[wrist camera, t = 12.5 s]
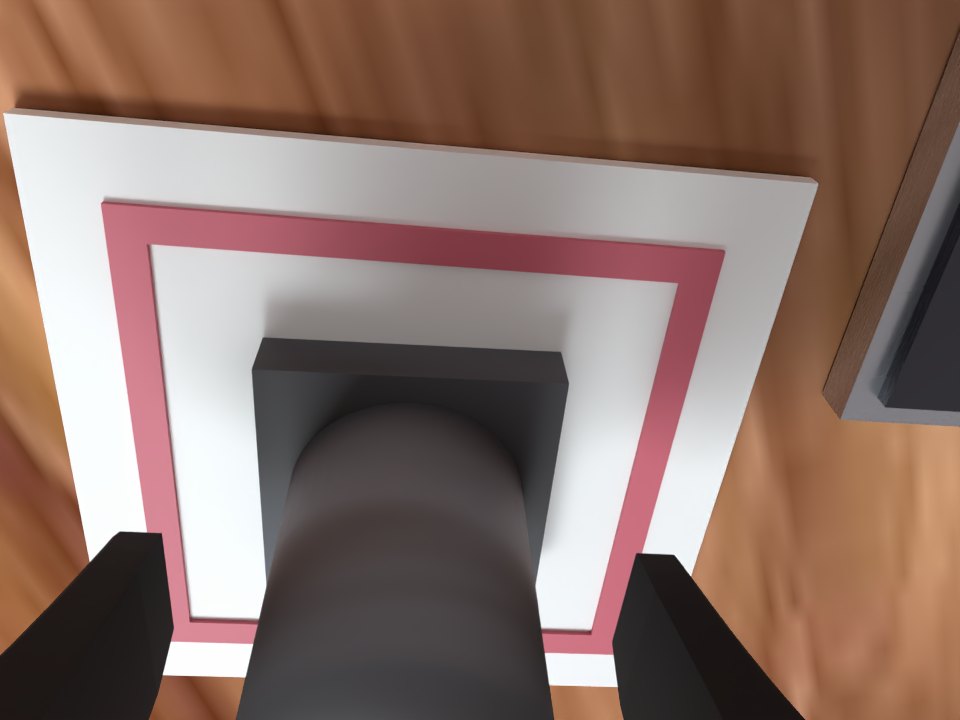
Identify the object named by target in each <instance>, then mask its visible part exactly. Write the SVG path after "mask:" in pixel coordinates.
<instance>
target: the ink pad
mask: <svg viewBox="0 0 960 720" xmlns="http://www.w3.org/2000/svg"><path fill="white" fill-rule="evenodd" d="M822 395H823V396H824V398H825V399H826V400H827V402H828V403H829V405H830V406H831V407H832V409H833V410H834V412H835V413H836V414H837V416H838V417H839V419H840V420H856V421H873V422H890V423H907V424H924V425H941V426H958V427H960V32H959V35H958V38H957V40H956V43H955V45H954V48H953V51H952V53H951V56H950V59H949V61H948V64H947V67H946V69H945V72H944V74H943V77H942V80H941V82H940V85H939V88H938V90H937V93H936V95H935V98H934V101H933V103H932V106H931V109H930V111H929V114H928V117H927V119H926V122H925V124H924V127H923V130H922V132H921V135H920V138H919V140H918V143H917V146H916V148H915V151H914V153H913V156H912V159H911V161H910V164H909V167H908V169H907V172H906V174H905V177H904V180H903V182H902V185H901V188H900V190H899V193H898V196H897V198H896V201H895V203H894V206H893V209H892V211H891V214H890V217H889V219H888V222H887V224H886V227H885V230H884V232H883V235H882V238H881V240H880V243H879V246H878V248H877V251H876V253H875V256H874V259H873V261H872V264H871V267H870V269H869V272H868V274H867V277H866V280H865V282H864V285H863V288H862V290H861V293H860V296H859V298H858V301H857V303H856V306H855V309H854V311H853V314H852V317H851V319H850V322H849V325H848V327H847V330H846V332H845V335H844V338H843V340H842V343H841V346H840V348H839V351H838V353H837V356H836V359H835V361H834V364H833V367H832V369H831V372H830V375H829V377H828V380H827V382H826V385H825V388H824V390H823V393H822Z"/></svg>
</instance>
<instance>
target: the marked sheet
mask: <svg viewBox="0 0 960 720" xmlns="http://www.w3.org/2000/svg"><path fill="white" fill-rule="evenodd" d="M3 115H4V120H5V125H6V130H7V135H8V141H9V146H10V151H11V156H12V161H13V166H14V172H15V177H16V182H17V187H18V192H19V197H20V203H21V208H22V213H23V218H24V223H25V228H26V234H27V239H28V244H29V249H30V254H31V260H32V265H33V270H34V275H35V280H36V285H37V291H38V296H39V301H40V306H41V311H42V316H43V322H44V327H45V332H46V337H47V342H48V348H49V353H50V358H51V363H52V368H53V373H54V379H55V384H56V389H57V394H58V399H59V404H60V410H61V415H62V420H63V425H64V430H65V435H66V441H67V446H68V451H69V456H70V461H71V467H72V472H73V477H74V482H75V487H76V492H77V498H78V503H79V508H80V513H81V518H82V523H83V529H84V534H85V539H86V544H87V549H88V554H89V560H90V561H91V560H92V559H93V558H94V557H95V556H96V555H97V554H98V553H99V551H100V550H101V549H102V548H103V547H104V546H105V545H106V544H107V542H108V541H109V540H110V539H111V538H112V537H113V536H114V535H116V534H117V533H118V532H119V531H125V532H149V533H162V538H163V545H164V553H165V561H166V569H167V577H168V584H169V592H170V600H171V608H172V616H173V623H174V631H173V635H172V639H171V643H170V647H169V652H168V656H167V660H166V664H165V668H164V672H163V675H183V676H221V677H246V673H247V669H248V664H249V660H250V656H251V651H252V647H253V643H254V638H255V634H256V629H257V625H258V621H259V616H260V612H261V608H262V603H263V599H264V595H265V590H266V572H265V558H264V543H263V529H262V514H261V500H260V485H259V471H258V456H257V442H256V427H255V413H254V398H253V383H252V367H253V364H254V361H255V358H256V355H257V353H258V350H259V347H260V344H261V341H262V338H263V337H266V338H286V339H307V340H327V341H348V342H368V343H389V344H409V345H430V346H450V347H471V348H491V349H512V350H532V351H553V352H561V354H562V357H563V361H564V365H565V369H566V373H567V377H568V381H569V388H568V394H567V400H566V406H565V412H564V418H563V424H562V430H561V436H560V442H559V448H558V454H557V460H556V466H555V472H554V478H553V484H552V490H551V496H550V502H549V508H548V514H547V520H546V526H545V532H544V538H543V544H542V550H541V556H540V562H539V568H538V574H537V580H536V593H537V600H538V608H539V615H540V622H541V629H542V636H543V643H544V651H545V658H546V665H547V672H548V679H549V685H565V686H603V687H618V685H617V679H616V671H615V663H614V655H613V647H612V640H613V636H614V633H615V629H616V625H617V622H618V618H619V614H620V611H621V607H622V603H623V600H624V596H625V592H626V589H627V585H628V581H629V578H630V574H631V570H632V567H633V563H634V559H635V556H636V553H647V554H671V555H675V556H676V557H677V559H678V560H679V561H680V562H681V564H682V565H683V566H684V568H685V569H686V571H687V572H688V573H689V575H690V576H691V574H692V571H693V568H694V565H695V562H696V559H697V556H698V553H699V550H700V547H701V544H702V541H703V537H704V534H705V531H706V528H707V525H708V522H709V519H710V516H711V513H712V510H713V507H714V504H715V501H716V498H717V495H718V491H719V488H720V485H721V482H722V479H723V476H724V473H725V470H726V467H727V464H728V461H729V458H730V455H731V452H732V448H733V445H734V442H735V439H736V436H737V433H738V430H739V427H740V424H741V421H742V418H743V415H744V412H745V409H746V406H747V402H748V399H749V396H750V393H751V390H752V387H753V384H754V381H755V378H756V375H757V372H758V369H759V366H760V363H761V360H762V356H763V353H764V350H765V347H766V344H767V341H768V338H769V335H770V332H771V329H772V326H773V323H774V320H775V317H776V314H777V310H778V307H779V304H780V301H781V298H782V295H783V292H784V289H785V286H786V283H787V280H788V277H789V274H790V271H791V268H792V264H793V261H794V258H795V255H796V252H797V249H798V246H799V243H800V240H801V237H802V234H803V231H804V228H805V225H806V222H807V218H808V215H809V212H810V209H811V206H812V203H813V200H814V197H815V194H816V191H817V188H818V185H819V184H818V183H817V182H816V181H815V180H814V179H812V178H811V177H800V176H788V175H777V174H766V173H754V172H743V171H731V170H720V169H708V168H697V167H685V166H674V165H663V164H651V163H640V162H628V161H617V160H605V159H594V158H582V157H571V156H560V155H548V154H537V153H525V152H514V151H502V150H491V149H480V148H468V147H457V146H445V145H434V144H422V143H411V142H399V141H388V140H377V139H365V138H354V137H342V136H331V135H319V134H308V133H296V132H285V131H274V130H262V129H251V128H239V127H228V126H216V125H205V124H194V123H182V122H171V121H159V120H148V119H136V118H125V117H113V116H102V115H91V114H79V113H68V112H56V111H45V110H33V109H22V108H11V109H9V110H8V111H6V112H4V113H3Z"/></svg>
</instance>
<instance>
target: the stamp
mask: <svg viewBox="0 0 960 720" xmlns="http://www.w3.org/2000/svg"><path fill="white" fill-rule="evenodd" d="M252 383H253V398H254V413H255V427H256V442H257V456H258V471H259V485H260V500H261V514H262V529H263V543H264V558H265V572H266V590H265V595H264V599H263V603H262V608H261V612H260V616H259V621H258V625H257V629H256V634H255V638H254V643H253V647H252V651H251V656H250V660H249V664H248V669H247V673H246V678H245V682H244V686H243V691H242V695H241V699H240V704H239V708H238V712H237V717H236V720H554V715H553V708H552V701H551V694H550V687H549V679H548V672H547V665H546V658H545V651H544V643H543V636H542V629H541V622H540V615H539V608H538V600H537V593H536V580H537V574H538V568H539V562H540V556H541V550H542V544H543V538H544V532H545V526H546V520H547V514H548V508H549V502H550V496H551V490H552V484H553V478H554V472H555V466H556V460H557V454H558V448H559V442H560V436H561V430H562V424H563V418H564V412H565V406H566V400H567V394H568V388H569V381H568V377H567V373H566V369H565V365H564V361H563V357H562V354H561V352H553V351H532V350H512V349H491V348H471V347H450V346H430V345H409V344H389V343H368V342H348V341H327V340H307V339H286V338H266V337H263V338H262V341H261V344H260V347H259V350H258V353H257V355H256V358H255V361H254V364H253V367H252Z"/></svg>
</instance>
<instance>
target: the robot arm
mask: <svg viewBox="0 0 960 720" xmlns="http://www.w3.org/2000/svg"><path fill="white" fill-rule="evenodd" d="M173 631H174V623H173V616H172V608H171V600H170V592H169V584H168V577H167V569H166V561H165V553H164V545H163V538H162V533H149V532H125V531H119V532H118V533H117V534H116V535H114V536H113V537H112V538H111V539H110V540H109V541H108V542H107V544H106V545H105V546H104V547H103V548H102V549H101V550H100V551H99V553H98V554H97V555H96V556H95V557H94V558H93V559H92V560H91V561H90V563H89V564H88V565H87V566H86V567H85V568H84V569H83V570H82V571H81V573H80V574H79V575H78V576H77V577H76V578H75V579H74V580H73V581H72V582H71V583H70V584H69V586H68V587H67V588H66V589H65V590H64V591H63V592H62V593H61V594H60V595H59V596H58V597H57V598H56V599H55V601H54V602H53V603H52V604H51V605H50V606H49V607H48V608H47V609H46V610H45V611H44V612H43V613H42V614H41V615H40V616H39V617H38V618H37V619H36V620H35V621H34V622H33V623H32V624H31V625H30V626H29V627H28V628H27V629H26V630H25V631H24V632H23V633H22V634H21V635H20V636H19V637H18V638H17V639H16V641H15V642H14V643H13V644H12V645H11V646H9V647H8V648H7V649H6V650H5V651H4V652H3V653H2V654H1V655H0V720H148V719H149V717H150V714H151V711H152V709H153V706H154V703H155V700H156V698H157V695H158V691H159V687H160V683H161V680H162V676H163V672H164V668H165V664H166V660H167V656H168V652H169V647H170V643H171V639H172V635H173ZM612 647H613V655H614V663H615V671H616V679H617V685H618V692H619V699H620V706H621V710H622V714H623V718H624V720H805V719H804V718H803V717H802V716H801V714H800V713H799V712H798V711H797V710H796V709H795V708H794V706H793V705H792V704H791V703H790V702H789V701H788V700H787V699H786V697H785V696H784V695H783V694H782V693H781V692H780V690H779V689H778V688H777V687H776V686H775V684H774V683H773V682H772V681H771V680H770V679H769V677H768V676H767V675H766V674H765V672H764V671H763V670H762V669H761V667H760V666H759V665H758V664H757V663H756V661H755V660H754V659H753V658H752V656H751V655H750V654H749V653H748V651H747V650H746V649H745V648H744V646H743V645H742V644H741V643H740V641H739V640H738V639H737V638H736V636H735V635H734V634H733V632H732V631H731V630H730V628H729V627H728V626H727V625H726V623H725V622H724V621H723V619H722V618H721V617H720V615H719V614H718V613H717V611H716V610H715V609H714V607H713V606H712V605H711V603H710V602H709V601H708V599H707V598H706V596H705V595H704V594H703V592H702V591H701V590H700V588H699V587H698V586H697V584H696V583H695V581H694V580H693V579H692V577H691V576H690V575H689V573H688V572H687V571H686V569H685V568H684V566H683V565H682V564H681V562H680V561H679V560H678V559H677V557H676V556H675V555H671V554H647V553H636V556H635V559H634V563H633V567H632V570H631V574H630V578H629V581H628V585H627V589H626V592H625V596H624V600H623V603H622V607H621V611H620V614H619V618H618V622H617V625H616V629H615V633H614V636H613V640H612Z"/></svg>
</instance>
